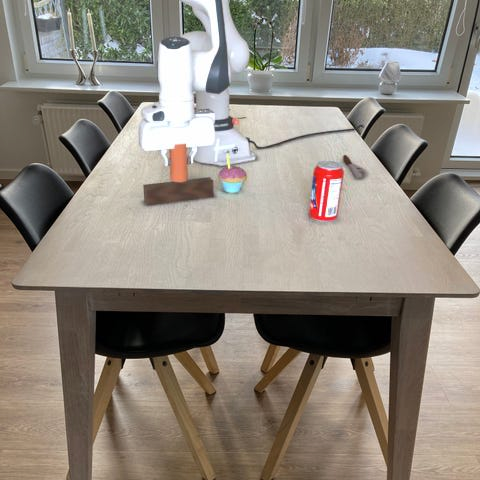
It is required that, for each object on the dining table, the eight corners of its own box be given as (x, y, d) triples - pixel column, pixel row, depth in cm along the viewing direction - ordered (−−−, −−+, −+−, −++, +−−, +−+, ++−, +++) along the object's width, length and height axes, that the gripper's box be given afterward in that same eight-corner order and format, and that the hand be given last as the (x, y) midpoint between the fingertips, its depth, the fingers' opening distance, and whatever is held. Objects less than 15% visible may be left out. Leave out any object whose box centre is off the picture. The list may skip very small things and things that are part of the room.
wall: (209, 193, 156) (209, 177, 154) (213, 196, 154) (213, 180, 151) (144, 201, 149) (143, 184, 146) (147, 205, 147) (146, 188, 144)
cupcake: (225, 196, 155) (226, 155, 148) (213, 187, 161) (213, 147, 154) (251, 192, 158) (252, 152, 151) (238, 183, 164) (239, 144, 157)
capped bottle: (184, 175, 146) (183, 134, 139) (190, 181, 142) (189, 139, 136) (167, 177, 144) (166, 135, 138) (173, 183, 140) (172, 140, 134)
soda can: (329, 226, 139) (337, 171, 131) (303, 219, 143) (309, 164, 134) (341, 217, 145) (349, 163, 137) (315, 210, 148) (322, 157, 140)
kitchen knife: (369, 177, 171) (354, 175, 171) (367, 182, 172) (353, 180, 172) (356, 155, 188) (342, 153, 188) (354, 160, 189) (341, 158, 189)
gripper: (210, 105, 139) (210, 157, 147) (134, 109, 132) (138, 164, 139) (219, 110, 134) (218, 164, 142) (141, 115, 127) (145, 171, 135)
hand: (178, 164), depth 141 cm, fingers closed on capped bottle, 5 cm apart
